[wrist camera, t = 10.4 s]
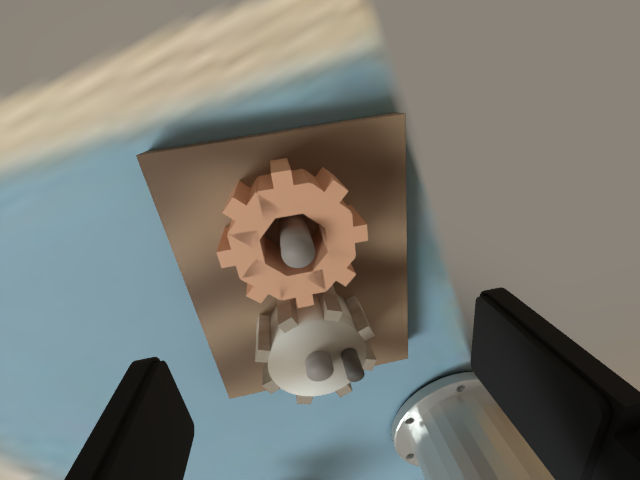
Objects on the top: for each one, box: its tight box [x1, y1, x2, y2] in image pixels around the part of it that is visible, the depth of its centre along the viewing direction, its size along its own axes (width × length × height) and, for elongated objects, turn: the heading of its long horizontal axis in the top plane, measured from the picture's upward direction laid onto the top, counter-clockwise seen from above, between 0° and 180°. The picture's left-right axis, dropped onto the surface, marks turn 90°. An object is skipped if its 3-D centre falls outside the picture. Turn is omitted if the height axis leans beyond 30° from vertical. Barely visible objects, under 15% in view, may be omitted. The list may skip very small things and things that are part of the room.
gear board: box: [136, 113, 408, 404], centre depth 18 cm, size 18×14×6 cm
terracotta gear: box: [216, 158, 368, 308], centre depth 16 cm, size 7×7×3 cm
